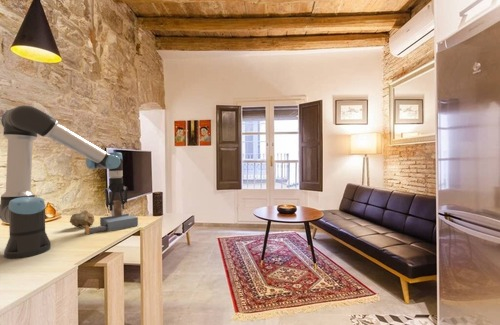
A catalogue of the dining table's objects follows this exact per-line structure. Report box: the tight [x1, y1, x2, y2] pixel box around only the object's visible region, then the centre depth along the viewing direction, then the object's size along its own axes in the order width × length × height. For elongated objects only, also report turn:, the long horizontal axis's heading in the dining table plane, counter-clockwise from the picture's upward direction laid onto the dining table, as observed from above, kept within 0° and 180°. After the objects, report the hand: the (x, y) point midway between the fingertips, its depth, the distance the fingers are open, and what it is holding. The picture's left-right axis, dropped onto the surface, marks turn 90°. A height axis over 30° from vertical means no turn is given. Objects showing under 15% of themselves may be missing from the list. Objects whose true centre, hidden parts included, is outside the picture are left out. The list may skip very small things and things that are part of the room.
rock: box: [69, 209, 95, 228], centre depth 150 cm, size 12×10×10 cm
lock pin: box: [84, 225, 108, 235], centre depth 140 cm, size 14×4×4 cm, turn 134°
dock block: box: [99, 213, 139, 232], centre depth 151 cm, size 16×17×5 cm
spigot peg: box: [113, 200, 123, 217], centre depth 154 cm, size 4×4×9 cm
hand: (117, 215), depth 154 cm, fingers closed on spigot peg, 4 cm apart
